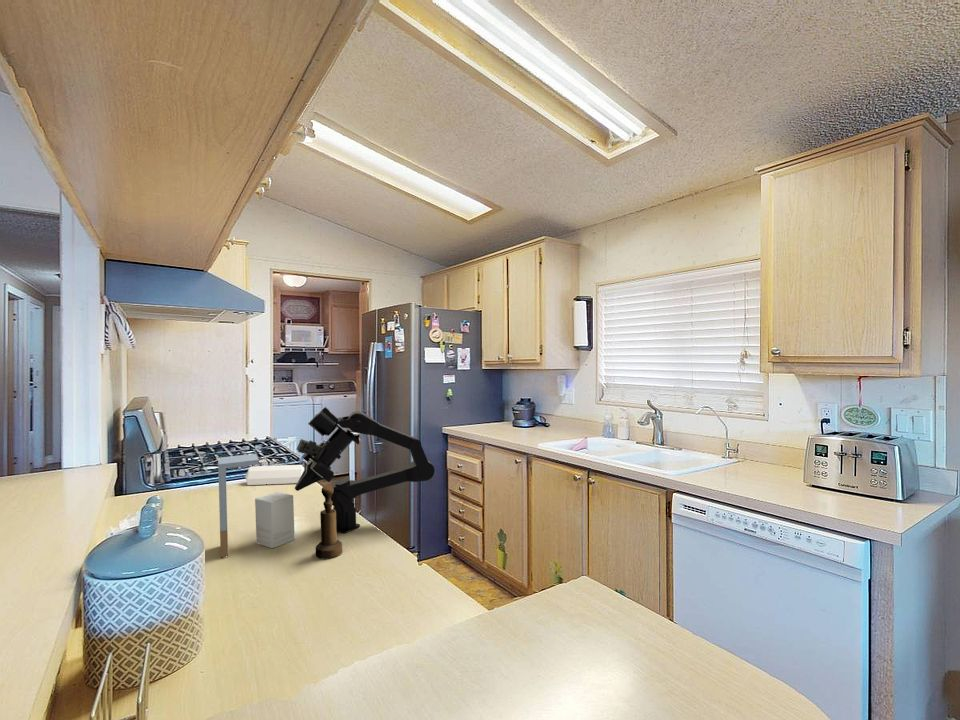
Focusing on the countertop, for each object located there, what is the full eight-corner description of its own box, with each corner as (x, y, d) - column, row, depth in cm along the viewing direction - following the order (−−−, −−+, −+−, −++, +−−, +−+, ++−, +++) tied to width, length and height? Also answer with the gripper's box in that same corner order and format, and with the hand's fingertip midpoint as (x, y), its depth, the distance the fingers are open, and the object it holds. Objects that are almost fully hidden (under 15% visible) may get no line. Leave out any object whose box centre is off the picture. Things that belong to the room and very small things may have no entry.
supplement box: (295, 539, 135) (294, 494, 134) (271, 549, 128) (270, 502, 128) (279, 534, 139) (278, 491, 138) (255, 543, 132) (254, 498, 132)
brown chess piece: (334, 546, 130) (333, 480, 129) (347, 553, 125) (345, 484, 125) (311, 554, 125) (309, 485, 125) (322, 561, 120) (321, 490, 120)
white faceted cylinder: (239, 478, 188) (302, 475, 190) (245, 465, 194) (306, 463, 196) (243, 491, 192) (305, 489, 194) (249, 478, 198) (309, 476, 200)
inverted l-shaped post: (258, 539, 136) (256, 453, 135) (261, 550, 128) (258, 459, 127) (220, 546, 131) (218, 457, 130) (221, 558, 123) (218, 464, 123)
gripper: (308, 425, 147) (269, 465, 141) (320, 433, 130) (277, 480, 125) (335, 447, 151) (298, 488, 145) (350, 459, 134) (310, 505, 129)
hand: (295, 489), depth 136 cm, fingers closed
